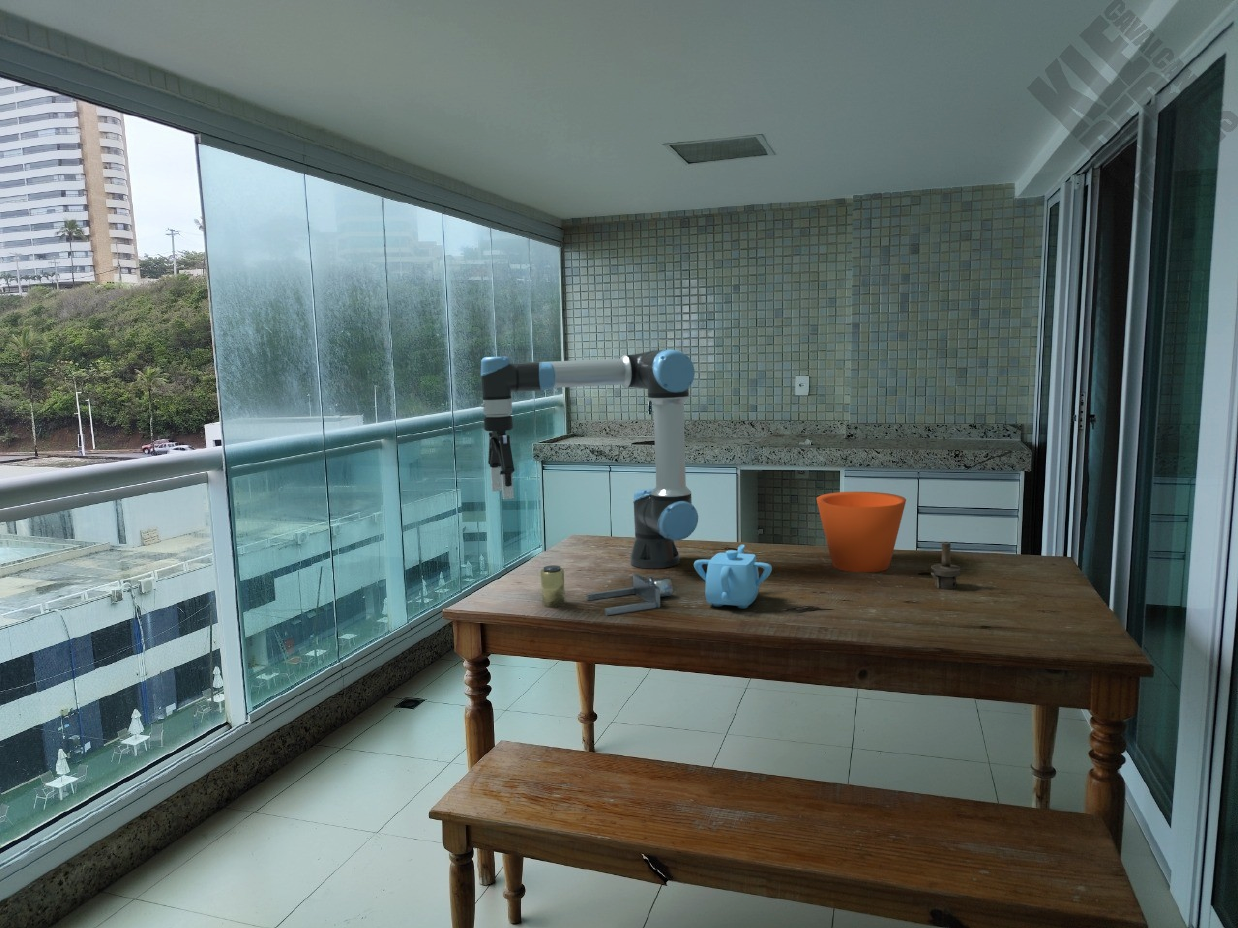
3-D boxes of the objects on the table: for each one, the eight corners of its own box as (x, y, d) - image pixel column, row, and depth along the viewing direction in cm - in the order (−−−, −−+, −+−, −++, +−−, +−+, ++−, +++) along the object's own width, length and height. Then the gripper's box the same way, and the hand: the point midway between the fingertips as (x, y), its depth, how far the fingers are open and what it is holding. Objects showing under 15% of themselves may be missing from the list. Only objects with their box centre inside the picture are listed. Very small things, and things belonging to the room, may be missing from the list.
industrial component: (958, 583, 220) (959, 539, 219) (964, 591, 213) (965, 545, 212) (921, 582, 222) (922, 539, 221) (926, 590, 215) (926, 545, 214)
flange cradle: (658, 588, 225) (657, 568, 225) (681, 603, 211) (681, 581, 211) (586, 599, 218) (585, 578, 218) (606, 615, 204) (605, 592, 203)
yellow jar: (561, 599, 219) (559, 563, 218) (568, 605, 214) (566, 568, 213) (539, 602, 217) (537, 566, 216) (545, 608, 212) (543, 571, 210)
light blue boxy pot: (777, 607, 206) (777, 554, 204) (718, 615, 201) (717, 562, 199) (743, 588, 223) (743, 539, 221) (688, 596, 218) (687, 546, 216)
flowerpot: (914, 559, 246) (915, 494, 243) (892, 580, 225) (893, 509, 222) (832, 551, 259) (832, 489, 256) (804, 570, 238) (804, 503, 236)
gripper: (474, 413, 228) (479, 489, 231) (494, 419, 205) (498, 503, 207) (501, 412, 230) (505, 486, 233) (523, 417, 207) (527, 500, 210)
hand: (502, 494), depth 220 cm, fingers open, 13 cm apart
